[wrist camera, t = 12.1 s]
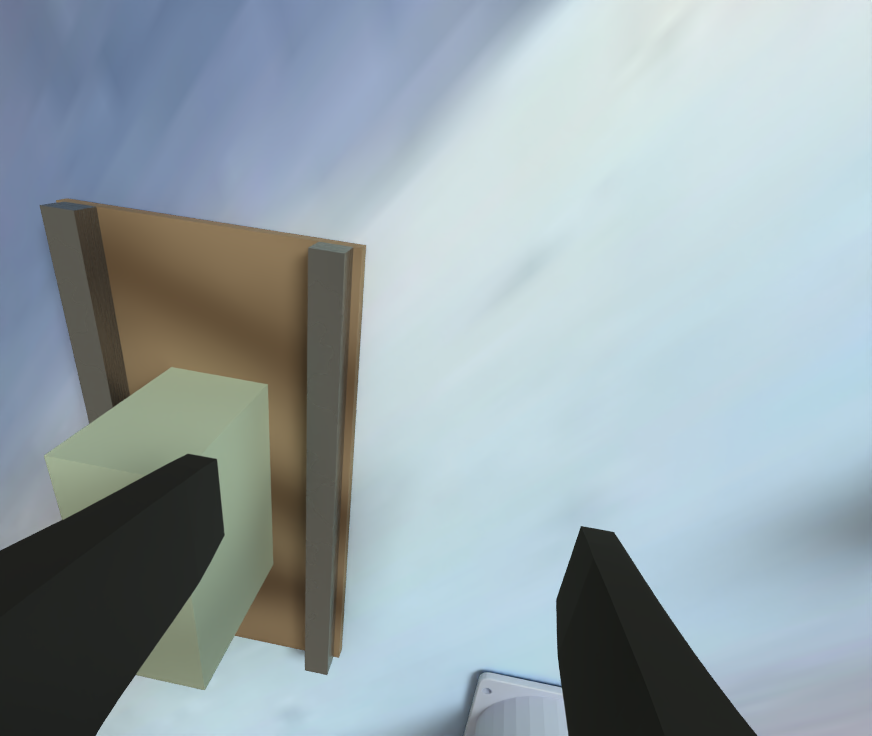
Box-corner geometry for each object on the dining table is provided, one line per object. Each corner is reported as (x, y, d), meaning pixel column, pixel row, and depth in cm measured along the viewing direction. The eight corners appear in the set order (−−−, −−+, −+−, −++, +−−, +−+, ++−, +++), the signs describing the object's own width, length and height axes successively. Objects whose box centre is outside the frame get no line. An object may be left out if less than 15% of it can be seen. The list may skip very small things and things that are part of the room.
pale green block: (273, 564, 24) (204, 690, 18) (194, 548, 24) (104, 667, 19) (267, 384, 19) (175, 481, 14) (171, 366, 20) (44, 455, 14)
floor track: (341, 648, 27) (332, 675, 25) (150, 608, 27) (132, 632, 26) (365, 245, 17) (353, 254, 16) (67, 198, 18) (31, 204, 16)
